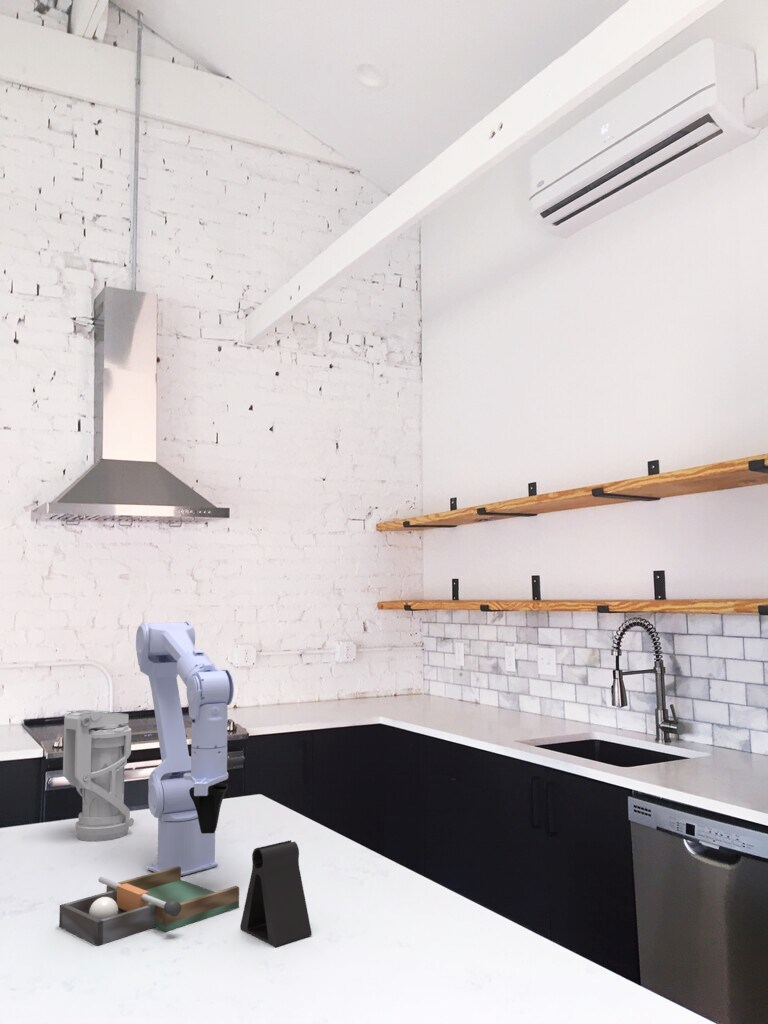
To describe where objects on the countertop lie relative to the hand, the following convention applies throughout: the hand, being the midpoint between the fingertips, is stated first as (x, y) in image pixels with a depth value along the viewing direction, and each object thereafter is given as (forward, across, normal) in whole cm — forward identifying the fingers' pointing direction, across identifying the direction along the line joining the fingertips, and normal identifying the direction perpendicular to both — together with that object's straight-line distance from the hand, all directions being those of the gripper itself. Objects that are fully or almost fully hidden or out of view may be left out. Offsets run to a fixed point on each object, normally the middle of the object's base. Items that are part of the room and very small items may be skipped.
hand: (208, 832), depth 141 cm
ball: (+7, +14, -12) cm, 20 cm away
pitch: (+9, +9, -7) cm, 15 cm away
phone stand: (+10, +17, +13) cm, 23 cm away
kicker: (+8, +12, -8) cm, 17 cm away
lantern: (+10, -35, -28) cm, 46 cm away
